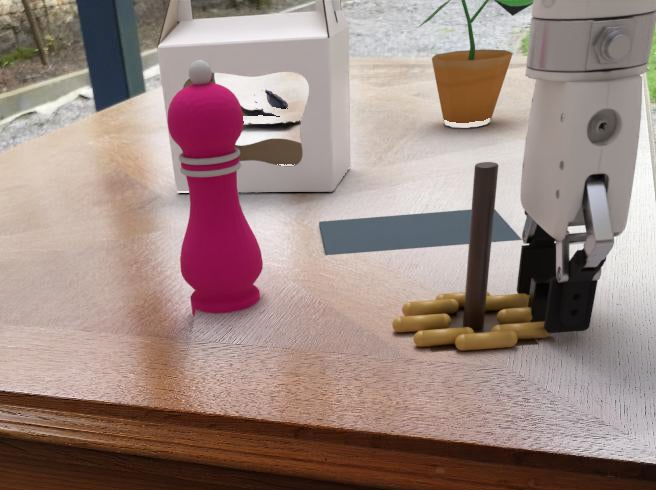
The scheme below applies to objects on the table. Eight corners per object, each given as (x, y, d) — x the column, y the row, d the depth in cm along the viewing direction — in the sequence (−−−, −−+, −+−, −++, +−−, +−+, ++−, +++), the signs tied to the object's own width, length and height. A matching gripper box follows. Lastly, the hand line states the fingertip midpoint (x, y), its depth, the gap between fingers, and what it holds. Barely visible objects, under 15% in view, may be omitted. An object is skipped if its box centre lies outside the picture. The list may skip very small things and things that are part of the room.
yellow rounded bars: (551, 297, 65) (557, 256, 63) (590, 344, 58) (598, 299, 56) (384, 309, 66) (384, 269, 64) (401, 357, 58) (402, 314, 56)
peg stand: (509, 317, 65) (528, 147, 58) (536, 358, 59) (562, 173, 51) (413, 324, 66) (419, 156, 58) (430, 366, 59) (440, 183, 51)
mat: (493, 212, 89) (493, 207, 89) (539, 264, 75) (539, 259, 75) (319, 225, 90) (319, 221, 90) (331, 280, 76) (331, 275, 75)
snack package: (270, 117, 148) (222, 127, 142) (272, 80, 144) (223, 88, 138) (313, 135, 142) (265, 146, 136) (317, 96, 138) (267, 106, 132)
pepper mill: (250, 291, 75) (228, 50, 63) (278, 317, 69) (259, 58, 57) (178, 306, 73) (141, 61, 61) (200, 334, 67) (164, 70, 56)
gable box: (352, 168, 111) (349, -78, 95) (335, 193, 101) (328, -77, 85) (205, 170, 117) (178, -62, 100) (174, 194, 106) (139, -59, 90)
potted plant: (403, 137, 125) (409, -100, 108) (423, 114, 139) (432, -99, 122) (518, 136, 120) (544, -113, 102) (527, 112, 134) (552, -111, 116)
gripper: (710, 58, 43) (643, 355, 54) (599, 30, 57) (563, 270, 68) (574, 70, 44) (534, 363, 54) (496, 39, 58) (476, 276, 68)
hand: (550, 309), depth 61 cm, fingers closed on yellow rounded bars, 6 cm apart
